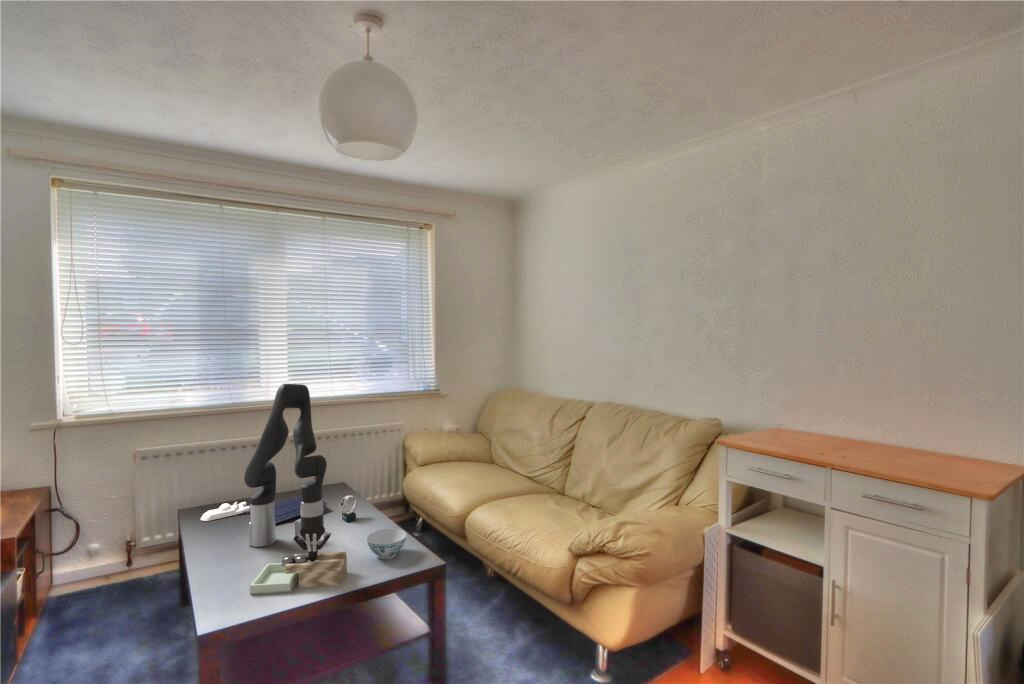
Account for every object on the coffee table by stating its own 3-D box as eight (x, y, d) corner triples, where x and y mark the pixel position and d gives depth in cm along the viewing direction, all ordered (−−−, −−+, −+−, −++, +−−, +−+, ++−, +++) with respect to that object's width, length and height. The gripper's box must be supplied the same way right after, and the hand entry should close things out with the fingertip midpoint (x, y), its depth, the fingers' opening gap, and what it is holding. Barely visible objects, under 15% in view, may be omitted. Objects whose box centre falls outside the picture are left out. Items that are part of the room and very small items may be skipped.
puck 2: (293, 567, 183) (293, 560, 183) (295, 561, 188) (295, 554, 188) (307, 565, 185) (307, 558, 184) (308, 560, 189) (308, 553, 189)
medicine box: (317, 540, 221) (316, 520, 220) (308, 544, 217) (308, 523, 216) (303, 537, 224) (302, 517, 224) (294, 541, 220) (294, 520, 220)
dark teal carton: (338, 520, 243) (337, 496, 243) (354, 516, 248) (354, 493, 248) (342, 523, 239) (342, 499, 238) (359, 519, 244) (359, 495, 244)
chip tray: (250, 594, 177) (249, 585, 177) (267, 571, 193) (267, 563, 193) (290, 592, 178) (289, 583, 178) (304, 570, 194) (303, 562, 194)
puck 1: (279, 567, 184) (279, 560, 183) (284, 561, 188) (284, 554, 188) (292, 566, 184) (292, 559, 184) (297, 561, 188) (296, 554, 188)
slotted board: (285, 588, 181) (284, 566, 181) (294, 574, 191) (294, 553, 191) (340, 584, 183) (340, 563, 183) (346, 571, 193) (346, 551, 192)
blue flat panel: (330, 510, 253) (329, 503, 253) (263, 534, 234) (262, 526, 234) (312, 497, 272) (311, 490, 271) (250, 518, 253) (249, 511, 253)
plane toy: (198, 517, 249) (198, 505, 249) (245, 508, 261) (245, 496, 261) (201, 524, 241) (201, 511, 241) (249, 514, 253) (249, 502, 253)
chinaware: (372, 567, 196) (371, 547, 195) (363, 552, 209) (363, 533, 209) (411, 558, 203) (411, 539, 202) (400, 544, 216) (400, 525, 216)
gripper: (289, 517, 182) (290, 566, 182) (328, 515, 183) (329, 564, 184) (295, 509, 189) (297, 557, 190) (333, 508, 190) (334, 555, 191)
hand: (313, 560), depth 187 cm, fingers closed
